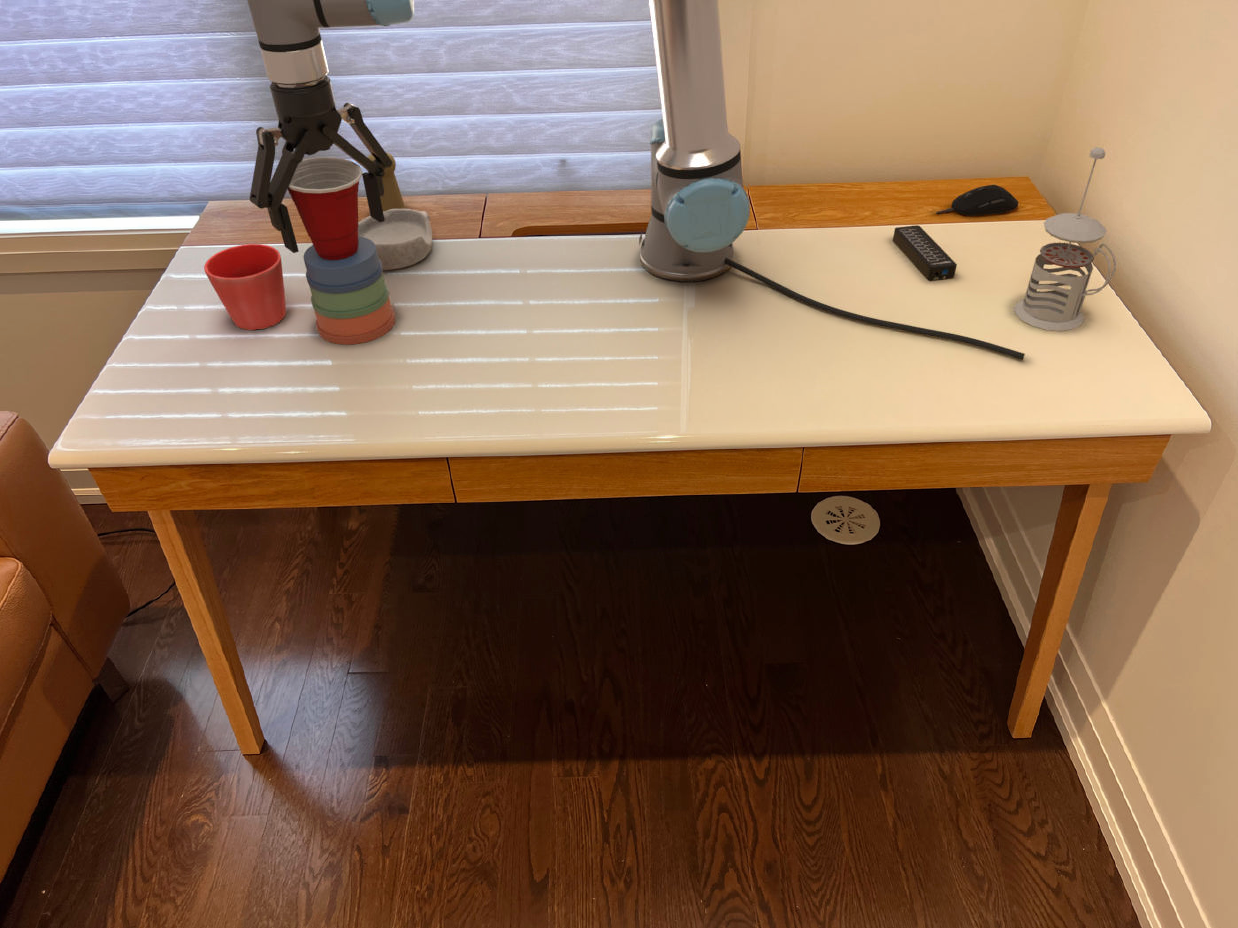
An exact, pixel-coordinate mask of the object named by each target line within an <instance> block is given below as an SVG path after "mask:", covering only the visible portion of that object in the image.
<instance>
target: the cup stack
mask: <svg viewBox="0 0 1238 928" xmlns="http://www.w3.org/2000/svg"><path fill="white" fill-rule="evenodd" d="M358 240H359V245H358V250H357V252H356V253H355V254H353V255H352V256H350V257H347V258H345V259H340V260H327V259H323V258H321V257H319V255H318V253H317V252H316V250H315V248H314V246H313V244H312V245H310V246H309V247H307V248H306V250H305V251H304V253H303V262H304V265H305V266H304V267H305V271H306V272H305V278H306V281H307V284H308V287H309V290H310V294H311V296H310V303H311V306H312V309H313V312H314V315H315V326H316V331H317V333H318V335H319V336H320V337H321V338H322V339H323V340H325V341H326V342H329V343H332V344H337V345H358V344H364V343H367V342H372V341H374V340H376V339H378V338H381V337H382V336H384V335H386V334H387V333H389V332H390V331H391V330H392V329H393V327H394V326H395V324H396V319H397V318H396V315H395V309H394V308H393V306H392V304H391V299H390V289H389V287H388V284H387V283H386V281H385V276H384V270H383V268H382V263H381V261H380V260H379V258H378V254H377V249H376V245H375V244H374V242H373V241H371V240H370V239H368V238H365V237H361V236H358Z"/></svg>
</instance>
